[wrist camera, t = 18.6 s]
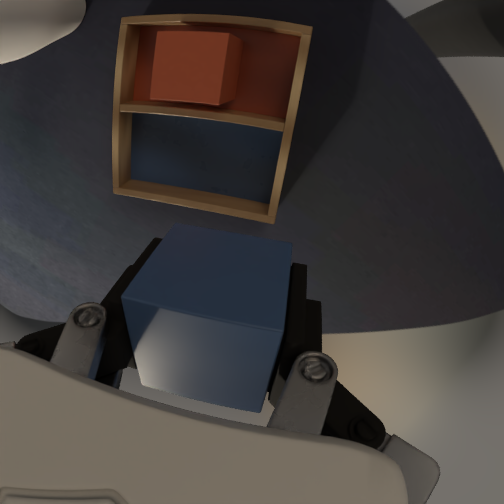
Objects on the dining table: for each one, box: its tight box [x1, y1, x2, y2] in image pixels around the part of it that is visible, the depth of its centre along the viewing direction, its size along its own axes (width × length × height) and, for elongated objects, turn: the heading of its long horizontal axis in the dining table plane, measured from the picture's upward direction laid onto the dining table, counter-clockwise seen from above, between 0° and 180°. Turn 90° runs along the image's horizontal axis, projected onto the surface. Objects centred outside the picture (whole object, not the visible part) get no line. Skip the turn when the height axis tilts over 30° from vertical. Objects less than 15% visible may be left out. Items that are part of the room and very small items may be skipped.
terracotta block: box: [150, 31, 244, 105], centre depth 17 cm, size 4×4×4 cm
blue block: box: [121, 223, 292, 413], centre depth 11 cm, size 4×4×4 cm
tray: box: [112, 14, 313, 224], centre depth 20 cm, size 14×13×3 cm
